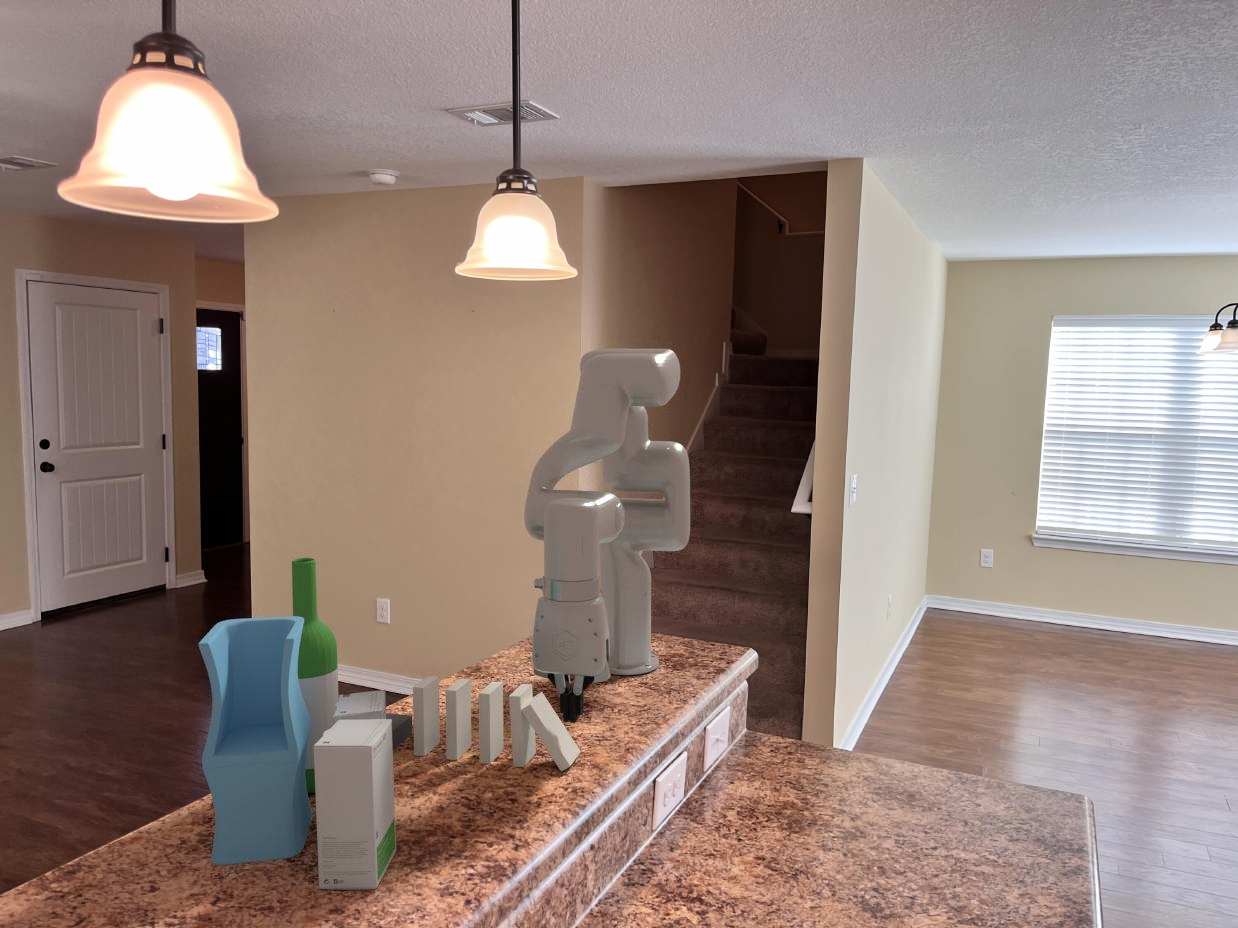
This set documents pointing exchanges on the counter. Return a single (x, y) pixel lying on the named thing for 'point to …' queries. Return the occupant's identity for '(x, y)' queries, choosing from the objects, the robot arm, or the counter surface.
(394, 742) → the block
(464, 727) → the domino
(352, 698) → the skincare box
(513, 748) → the domino
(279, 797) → the blue chair
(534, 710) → the domino
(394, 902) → the counter surface
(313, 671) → the wine bottle
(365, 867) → the skincare box
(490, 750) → the domino
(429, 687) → the domino
